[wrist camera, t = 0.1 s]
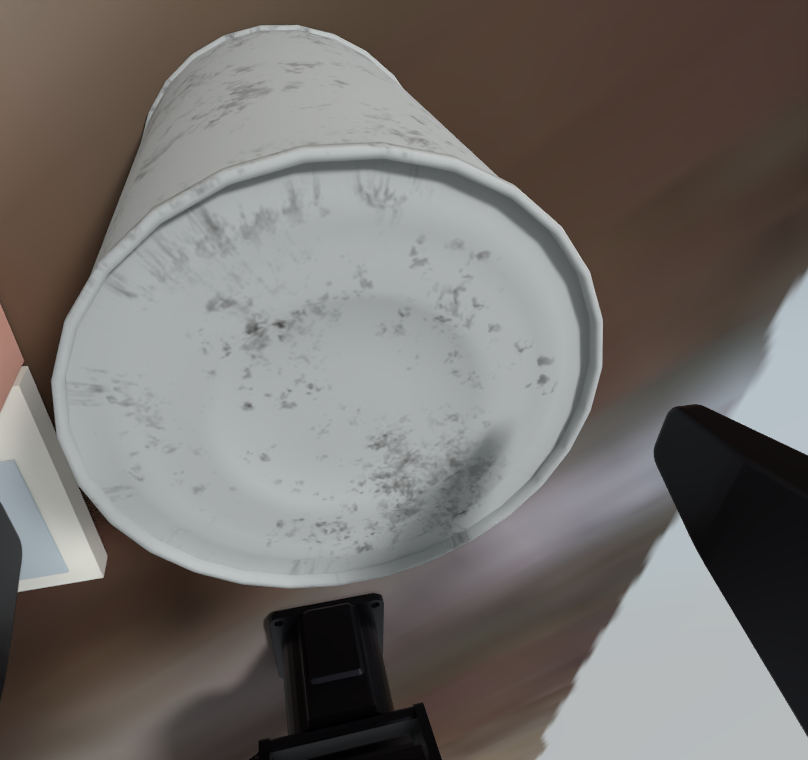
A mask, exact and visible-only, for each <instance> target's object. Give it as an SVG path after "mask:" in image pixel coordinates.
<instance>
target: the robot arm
mask: <svg viewBox="0 0 808 760" xmlns="http://www.w3.org/2000/svg"><path fill="white" fill-rule="evenodd" d="M654 459H655V463H656V465H657V467H658V470H659V472H660V474H661V476H662V478H663V480H664V482H665V484H666V487H667V489H668V491H669V493H670V495H671V497H672V499H673V502H674V504H675V506H676V508H677V510H678V512H679V514H680V516H681V519H682V521H683V523H684V525H685V527H686V529H687V531H688V533H689V536H690V538H691V540H692V542H693V544H694V546H695V548H696V549H697V551H698V553H699V555H700V557H701V558H702V560H703V562H704V564H705V566H706V567H707V569H708V571H709V572H710V574H711V576H712V577H713V579H714V581H715V582H716V584H717V586H718V587H719V589H720V591H721V592H722V594H723V596H724V597H725V599H726V601H727V602H728V604H729V606H730V607H731V609H732V610H733V612H734V614H735V616H736V618H737V619H738V621H739V623H740V624H741V626H742V627H743V629H744V631H745V633H746V634H747V636H748V638H749V639H750V641H751V642H752V644H753V646H754V648H755V649H756V651H757V653H758V654H759V656H760V658H761V659H762V661H763V663H764V664H765V666H766V668H767V670H768V671H769V673H770V675H771V676H772V678H773V679H774V681H775V683H776V685H777V686H778V688H779V690H780V691H781V693H782V695H783V696H784V698H785V700H786V701H787V703H788V705H789V706H790V708H791V710H792V711H793V713H794V715H795V716H796V718H797V720H798V721H799V723H800V725H801V726H802V728H803V730H804V731H805V733H806V735H807V736H808V455H805V454H804V453H801V452H799V451H797V450H795V449H793V448H791V447H789V446H787V445H784V444H782V443H780V442H778V441H776V440H774V439H772V438H770V437H768V436H766V435H764V434H761V433H759V432H757V431H755V430H752V429H751V428H749V427H747V426H745V425H742V424H740V423H738V422H736V421H734V420H732V419H730V418H728V417H726V416H723V415H721V414H719V413H717V412H715V411H713V410H711V409H709V408H707V407H704V406H702V405H697V404H693V405H685V406H678V407H674V408H672V409H671V410H670V411H669V412H668V414H667V415H666V418H665V421H664V423H663V426H662V428H661V431H660V433H659V436H658V438H657V441H656V443H655V446H654ZM21 564H22V545H21V541H20V538H19V536H18V534H17V532H16V530H15V528H14V526H13V524H12V522H11V520H10V519H9V517H8V515H7V513H6V511H5V509H4V507H3V505H2V503H1V502H0V700H1V696H2V692H3V687H4V683H5V678H6V672H7V666H8V659H9V652H10V645H11V637H12V630H13V623H14V615H15V608H16V600H17V593H18V586H19V578H20V571H21ZM383 618H384V602H383V598H382V595H380V594H372V595H366V596H361V597H356V598H350V599H345V600H340V601H335V602H329V603H324V604H319V605H313V606H308V607H303V608H297V609H292V610H287V611H281V612H277V613H274V614H272V615H271V616H270V618H269V622H270V630H271V635H272V641H273V646H274V652H275V657H276V663H277V668H278V674H279V676H280V677H281V678H284V690H285V703H286V716H287V729H288V736H284V737H280V738H275V739H271V740H270V738H267V739H262V740H259V752H258V753H257V754H256V755H255V756H253V757H252V758H251V759H249V760H442V759H441V756H440V753H439V750H438V747H437V744H436V741H435V738H434V734H433V731H432V728H431V725H430V722H429V719H428V716H427V713H426V710H425V707H424V704H423V702H422V703H418V704H413V707H409V708H404V709H400V710H396V711H394V708H393V703H392V698H391V694H390V689H389V684H388V680H387V675H386V670H385V666H384V661H383V656H382V654H383Z"/></svg>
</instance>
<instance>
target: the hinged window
mask: <svg viewBox="0 0 808 760" xmlns="http://www.w3.org/2000/svg"><path fill="white" fill-rule="evenodd" d="M0 502H1V503H2V505H3V507H4V509H5V511H6V513H7V515H8V517H9V519H10V520H11V522H12V524H13V526H14V528H15V530H16V532H17V534H18V536H19V538H20V541H21V545H22V564H21V571H20V578H19V586H18V592H21V591H27V590H33V589H39V588H45V587H51V586H57V585H63V584H69V583H75V582H81V581H86V580H92V579H98V578H104V572H105V567H106V562H107V554H106V551H105V549H104V547H103V544H102V542H101V539H100V537H99V535H98V532H97V530H96V528H95V525H94V523H93V520H92V518H91V516H90V513H89V511H88V508H87V506H86V504H85V501H84V499H83V497H82V494H81V492H80V489H79V487H78V485H77V482H76V480H75V477H74V475H73V473H72V470H71V468H70V466H69V463H68V461H67V459H66V456H65V454H64V452H63V450H62V447H61V445H60V443H59V441H58V438H57V435H56V432H55V430H54V427H53V425H52V423H51V420H50V418H49V416H48V413H47V411H46V408H45V406H44V404H43V401H42V399H41V396H40V394H39V392H38V389H37V387H36V385H35V382H34V380H33V377H32V375H31V373H30V370H29V368H28V366H22V367H21V369H20V371H19V373H18V375H17V377H16V379H15V382H14V384H13V386H12V388H11V390H10V392H9V395H8V397H7V399H6V401H5V403H4V405H3V408H2V410H1V412H0Z"/></svg>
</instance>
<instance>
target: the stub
mask: <svg viewBox="0 0 808 760" xmlns="http://www.w3.org/2000/svg"><path fill="white" fill-rule="evenodd" d="M23 362H24V359H23V357H22V354H21V352H20V350H19V347H18V345H17V343H16V340H15V338H14V335H13V333H12V331H11V328H10V326H9V324H8V321H7V319H6V317H5V314H4V312H3V309H2V307H1V305H0V412H1V410H2V408H3V405H4V403H5V401H6V399H7V397H8V395H9V392H10V390H11V388H12V386H13V384H14V382H15V379H16V377H17V375H18V373H19V371H20V369H21V366H22V364H23Z"/></svg>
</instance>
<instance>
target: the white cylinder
mask: <svg viewBox="0 0 808 760" xmlns="http://www.w3.org/2000/svg"><path fill="white" fill-rule="evenodd" d="M602 342H603V319H602V315H601V312H600V308H599V304H598V301H597V297H596V293H595V290H594V286H593V282H592V279H591V275H590V272H589V270H588V268H587V267H586V265H585V263H584V262H583V260H582V259H581V257H580V255H579V254H578V252H577V251H576V249H575V247H574V246H573V244H572V243H571V241H570V239H569V238H568V236H567V235H566V233H565V231H564V230H563V228H562V227H561V226H560V225H559V224H558V223H557V222H556V221H554V220H553V219H552V218H551V217H550V216H549V215H548V214H547V213H545V212H544V211H543V210H542V209H541V208H540V207H539V206H537V205H536V204H535V203H534V202H533V201H532V200H531V199H529V198H528V197H527V196H526V195H525V194H524V193H523V192H522V191H520V190H519V189H518V188H517V187H516V186H515V185H514V184H511V183H509V182H507V181H505V180H503V179H501V178H499V177H498V176H497V175H496V174H495V173H494V172H492V171H491V170H490V169H489V168H488V167H487V166H486V165H485V164H484V163H483V162H482V161H481V160H480V159H478V158H477V157H476V156H475V155H474V154H473V153H472V152H471V151H470V150H469V149H468V148H467V147H466V146H464V145H463V144H462V143H461V142H460V141H459V140H458V139H457V138H456V137H455V136H454V135H453V134H452V133H450V132H449V131H448V130H447V129H446V128H445V127H444V126H443V125H442V124H441V123H440V122H439V121H437V120H436V119H435V118H434V117H433V116H432V115H431V114H430V113H429V112H428V111H427V110H426V109H425V108H423V107H422V106H421V105H420V104H419V103H418V102H417V101H416V100H415V99H414V98H413V97H412V96H411V95H409V94H408V93H407V92H406V91H405V90H404V89H403V88H402V86H401V85H400V83H399V82H398V81H397V79H396V78H395V76H394V75H393V74H391V73H390V72H389V71H388V70H387V69H386V68H385V67H384V66H382V65H381V64H380V63H379V62H378V61H377V60H376V59H374V58H373V57H372V56H371V55H370V54H369V53H368V52H367V51H365V50H363V49H361V48H359V47H357V46H355V45H353V44H352V43H350V42H348V41H346V40H344V39H342V38H340V37H338V36H336V35H335V34H331V33H327V32H323V31H319V30H315V29H311V28H307V27H303V26H299V25H260V26H256V27H253V28H249V29H245V30H242V31H238V32H234V33H231V34H227V35H224V36H222V37H220V38H219V39H217V40H215V41H213V42H212V43H210V44H208V45H207V46H205V47H203V48H202V49H200V50H198V51H196V52H195V53H193V54H192V55H191V56H190V57H189V58H188V59H187V60H186V61H185V62H184V63H183V64H182V65H181V66H180V67H179V68H178V69H177V70H176V71H175V72H174V73H173V74H172V75H171V76H170V77H169V78H168V79H167V80H166V82H165V84H164V86H163V87H162V89H161V91H160V93H159V95H158V96H157V98H156V100H155V102H154V104H153V105H152V107H151V109H150V111H149V113H148V117H147V121H146V125H145V128H144V132H143V136H142V140H141V144H140V147H139V149H138V152H137V155H136V157H135V160H134V162H133V165H132V168H131V170H130V173H129V176H128V178H127V181H126V183H125V186H124V189H123V191H122V194H121V196H120V199H119V202H118V204H117V207H116V210H115V212H114V215H113V217H112V220H111V223H110V225H109V228H108V231H107V233H106V236H105V238H104V241H103V244H102V246H101V249H100V251H99V254H98V257H97V259H96V262H95V265H94V267H93V270H92V272H91V275H90V277H89V279H88V280H87V282H86V284H85V286H84V287H83V289H82V291H81V293H80V294H79V296H78V298H77V299H76V301H75V303H74V305H73V306H72V308H71V310H70V312H69V313H68V315H67V317H66V319H65V322H64V326H63V330H62V334H61V339H60V343H59V348H58V352H57V357H56V361H55V366H54V370H53V375H52V379H51V386H52V395H53V405H54V415H55V425H56V435H57V438H58V441H59V443H60V445H61V447H62V450H63V452H64V454H65V456H66V459H67V461H68V463H69V466H70V468H71V470H72V472H73V475H74V477H75V479H76V482H77V484H78V486H79V487H80V488H81V489H82V490H83V492H84V493H85V494H86V495H87V496H88V498H89V499H90V500H91V501H92V502H93V504H94V505H95V506H96V507H97V508H98V510H99V511H100V512H101V513H102V514H103V516H104V517H105V518H106V519H107V520H108V522H109V523H110V524H112V525H113V526H114V527H116V528H117V529H118V530H120V531H121V532H123V533H124V534H125V535H127V536H128V537H129V538H131V539H132V540H134V541H135V542H136V543H138V544H139V545H140V546H142V547H143V548H145V549H146V550H147V551H149V552H150V553H152V554H155V555H157V556H159V557H161V558H163V559H166V560H168V561H170V562H172V563H175V564H177V565H179V566H181V567H183V568H186V569H188V570H190V571H192V572H195V573H199V574H203V575H207V576H211V577H215V578H219V579H223V580H227V581H231V582H235V583H239V584H245V585H256V586H267V587H278V588H289V589H290V588H308V587H327V586H340V585H345V584H350V583H355V582H361V581H366V580H371V579H376V578H382V577H386V576H389V575H392V574H395V573H398V572H401V571H404V570H407V569H410V568H413V567H416V566H419V565H422V564H425V563H428V562H430V561H432V560H434V559H436V558H438V557H440V556H443V555H445V554H447V553H449V552H451V551H453V550H455V549H457V548H459V547H461V546H463V545H465V544H467V543H469V542H471V541H473V540H474V539H476V538H477V537H479V536H480V535H482V534H483V533H484V532H486V531H487V530H489V529H490V528H492V527H493V526H495V525H496V524H498V523H499V522H501V521H502V520H504V519H505V518H507V517H508V516H509V515H511V514H512V513H513V512H514V511H515V510H516V509H517V508H518V507H519V506H520V505H522V504H523V503H524V502H525V501H526V500H527V499H528V498H529V497H530V496H531V495H532V494H534V493H535V492H536V491H537V490H538V489H539V488H540V487H541V486H542V485H543V484H544V483H545V481H546V480H547V479H548V478H549V476H550V475H551V474H552V472H553V471H554V470H555V469H556V467H557V466H558V465H559V464H560V462H561V461H562V460H563V458H564V457H565V456H566V455H567V453H568V452H569V451H570V449H571V447H572V445H573V443H574V441H575V440H576V438H577V436H578V434H579V432H580V430H581V428H582V426H583V424H584V422H585V420H586V418H587V416H588V414H589V412H590V411H591V407H592V403H593V399H594V396H595V392H596V388H597V384H598V381H599V377H600V373H601V370H602Z"/></svg>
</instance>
